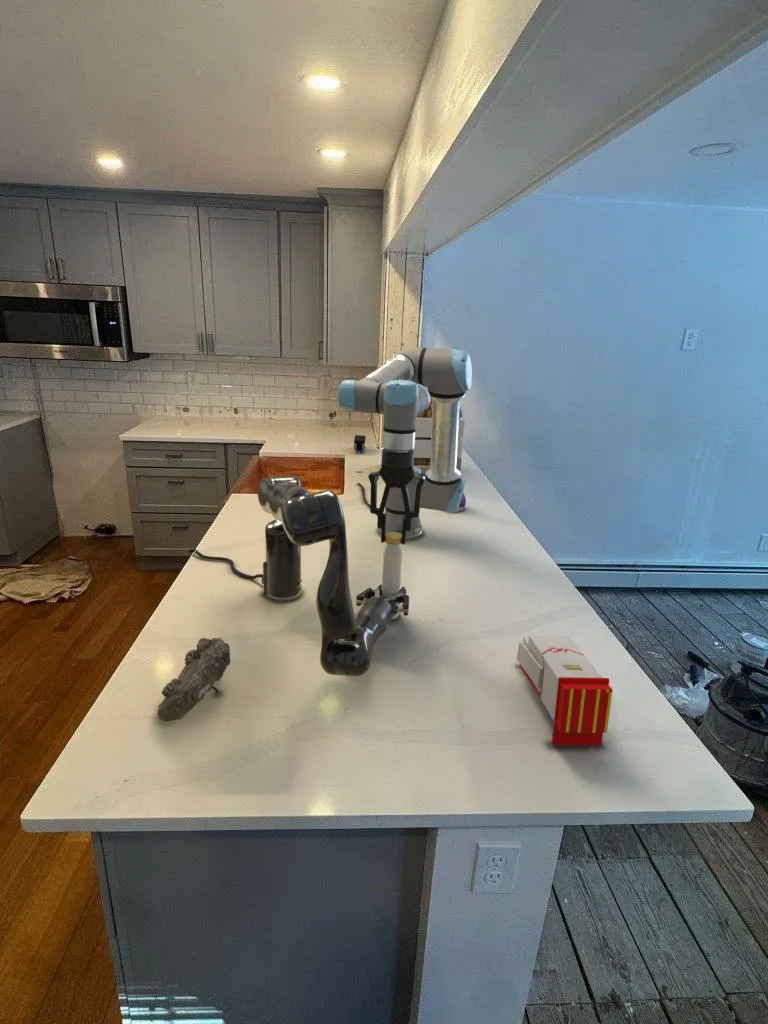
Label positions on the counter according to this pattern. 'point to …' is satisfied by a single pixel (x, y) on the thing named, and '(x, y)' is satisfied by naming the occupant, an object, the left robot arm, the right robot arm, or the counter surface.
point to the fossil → (195, 678)
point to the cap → (393, 538)
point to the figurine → (462, 503)
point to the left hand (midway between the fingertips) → (393, 588)
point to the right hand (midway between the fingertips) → (393, 541)
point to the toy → (567, 688)
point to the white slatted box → (424, 438)
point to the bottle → (391, 571)
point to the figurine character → (359, 443)
